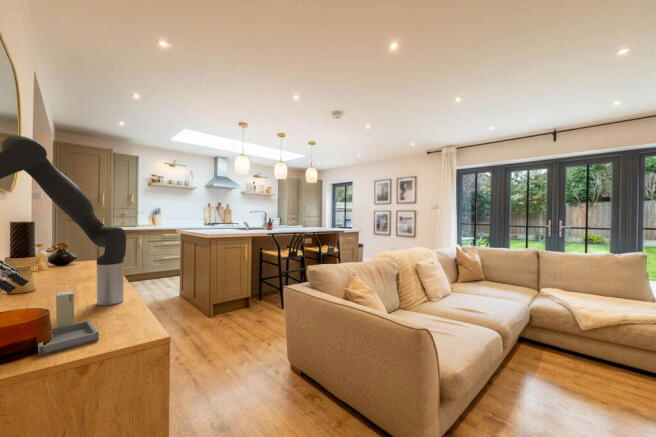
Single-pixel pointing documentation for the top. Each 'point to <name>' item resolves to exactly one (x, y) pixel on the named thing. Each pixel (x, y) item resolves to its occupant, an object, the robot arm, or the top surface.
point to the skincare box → (64, 308)
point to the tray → (69, 337)
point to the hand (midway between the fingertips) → (19, 287)
